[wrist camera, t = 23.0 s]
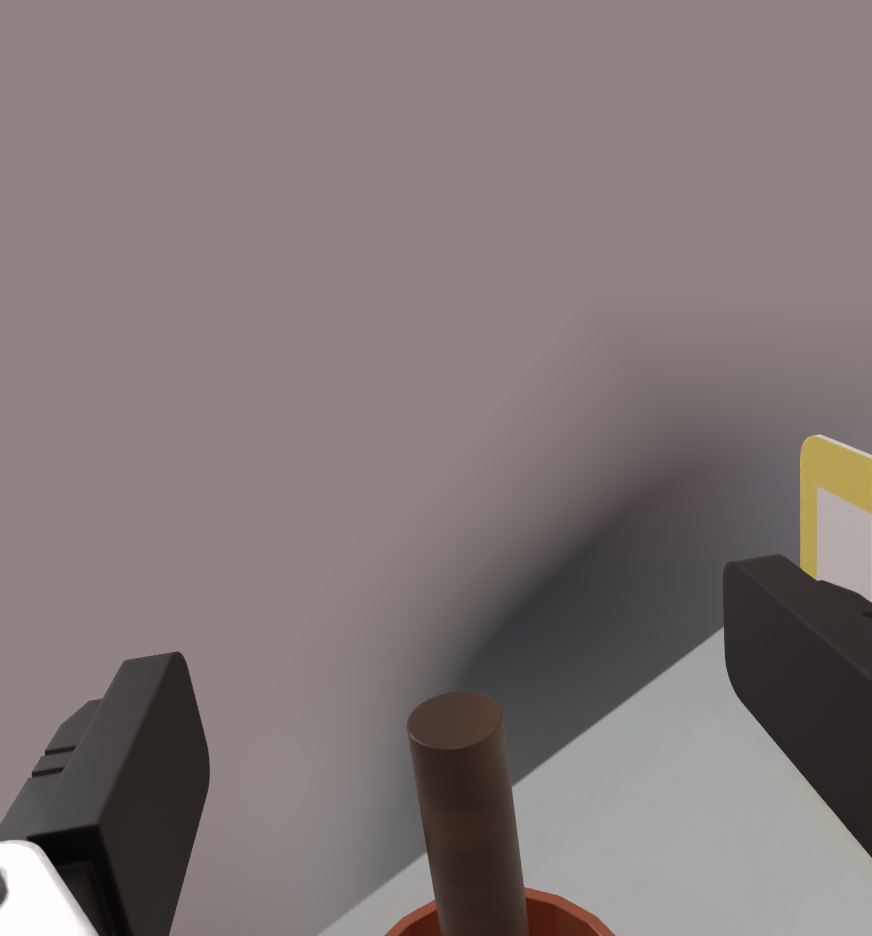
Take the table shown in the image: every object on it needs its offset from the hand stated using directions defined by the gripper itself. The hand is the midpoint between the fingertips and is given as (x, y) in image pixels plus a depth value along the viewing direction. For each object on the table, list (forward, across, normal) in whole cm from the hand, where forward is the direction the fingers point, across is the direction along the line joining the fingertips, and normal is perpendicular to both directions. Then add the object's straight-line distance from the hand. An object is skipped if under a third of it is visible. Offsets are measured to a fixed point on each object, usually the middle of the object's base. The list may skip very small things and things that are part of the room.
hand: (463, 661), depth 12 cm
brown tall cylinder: (+11, 0, +24) cm, 27 cm away
